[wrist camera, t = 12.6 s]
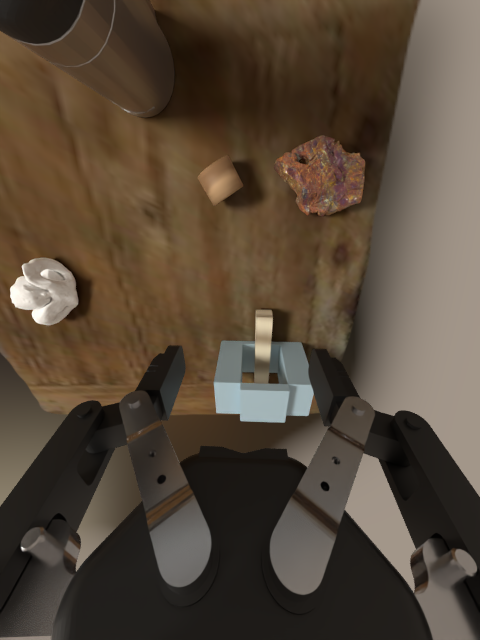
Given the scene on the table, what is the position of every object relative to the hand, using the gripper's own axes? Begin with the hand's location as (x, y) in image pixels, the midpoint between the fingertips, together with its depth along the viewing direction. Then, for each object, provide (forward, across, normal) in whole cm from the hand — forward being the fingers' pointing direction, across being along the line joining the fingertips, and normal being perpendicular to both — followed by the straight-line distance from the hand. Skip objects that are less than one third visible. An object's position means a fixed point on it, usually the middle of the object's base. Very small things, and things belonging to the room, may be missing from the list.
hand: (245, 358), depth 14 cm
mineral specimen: (+28, -10, -10) cm, 32 cm away
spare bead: (+28, +4, -10) cm, 30 cm away
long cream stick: (+27, -3, +22) cm, 35 cm away
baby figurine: (+28, +36, +8) cm, 47 cm away
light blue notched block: (+28, -3, +23) cm, 36 cm away
